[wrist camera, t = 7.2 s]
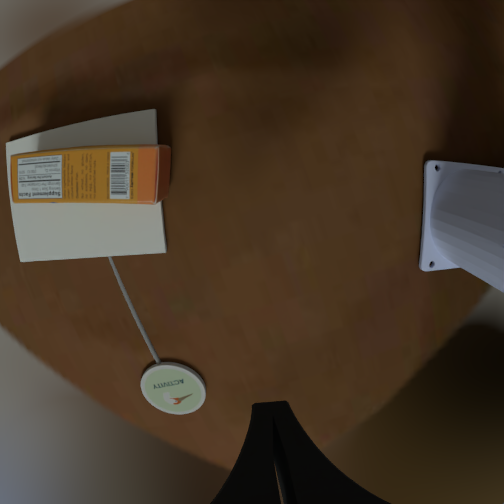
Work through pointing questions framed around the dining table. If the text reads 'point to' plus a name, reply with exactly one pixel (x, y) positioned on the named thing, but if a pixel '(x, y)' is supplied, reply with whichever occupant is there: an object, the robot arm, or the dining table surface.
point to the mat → (88, 214)
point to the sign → (167, 377)
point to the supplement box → (92, 174)
